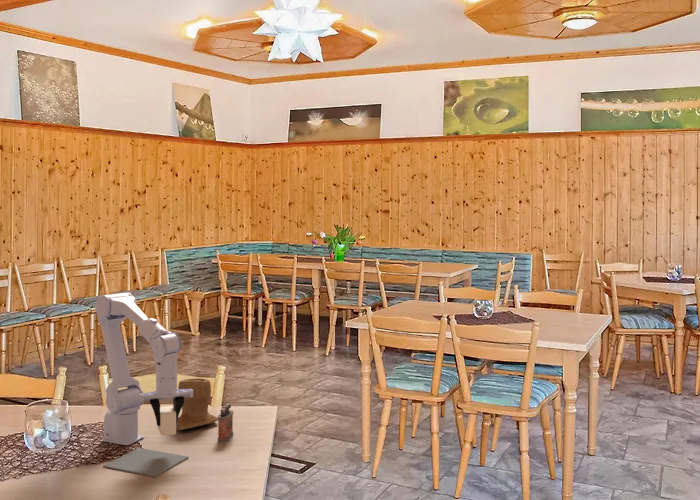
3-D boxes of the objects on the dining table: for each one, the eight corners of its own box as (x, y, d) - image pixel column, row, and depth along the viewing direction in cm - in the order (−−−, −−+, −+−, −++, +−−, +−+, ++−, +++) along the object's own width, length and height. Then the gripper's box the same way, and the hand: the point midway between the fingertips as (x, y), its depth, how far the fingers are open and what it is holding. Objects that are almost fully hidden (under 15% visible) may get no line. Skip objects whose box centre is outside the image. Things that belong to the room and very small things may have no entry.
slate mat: (103, 467, 193) (103, 465, 193) (139, 449, 207) (139, 447, 207) (155, 477, 187) (155, 475, 187) (188, 458, 200) (188, 456, 200)
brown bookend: (202, 416, 238) (202, 371, 237) (222, 424, 230) (223, 378, 229) (161, 425, 228) (161, 379, 227) (181, 435, 219) (181, 387, 218)
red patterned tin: (225, 442, 213) (226, 410, 212) (215, 442, 214) (215, 409, 213) (235, 434, 221) (235, 402, 220) (225, 433, 222) (225, 401, 221)
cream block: (161, 435, 198) (161, 414, 198) (157, 427, 204) (157, 407, 204) (176, 433, 200) (176, 412, 199) (172, 426, 206) (171, 405, 206)
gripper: (141, 382, 194) (142, 431, 195) (195, 377, 200) (195, 425, 201) (138, 376, 201) (138, 423, 202) (190, 372, 207) (190, 418, 208)
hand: (166, 424), depth 202 cm, fingers closed on cream block, 4 cm apart
